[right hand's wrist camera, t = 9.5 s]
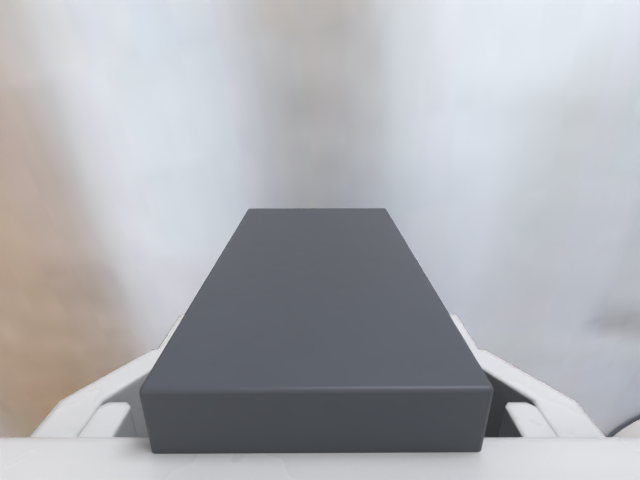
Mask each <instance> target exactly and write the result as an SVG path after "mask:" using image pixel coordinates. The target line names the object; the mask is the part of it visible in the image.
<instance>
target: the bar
mask: <svg viewBox="0 0 640 480" xmlns="http://www.w3.org/2000/svg"><path fill="white" fill-rule="evenodd" d="M139 395H140V400H141V404H142V409H143V413H144V418H145V422H146V427H147V431H148V436H149V440H150V445H151V449H152V453H154V454H234V453H434V452H480V451H481V449H482V444H483V440H484V435H485V430H486V425H487V421H488V416H489V411H490V407H491V402H492V397H493V386H492V385H491V383H490V381H489V380H488V378H487V376H486V375H485V373H484V371H483V370H482V368H481V366H480V365H479V363H478V361H477V360H476V358H475V356H474V355H473V353H472V351H471V350H470V348H469V346H468V345H467V343H466V341H465V340H464V338H463V336H462V335H461V333H460V331H459V330H458V328H457V326H456V325H455V323H454V322H453V320H452V318H451V317H450V315H449V313H448V312H447V310H446V308H445V307H444V305H443V303H442V302H441V300H440V298H439V297H438V295H437V293H436V292H435V290H434V288H433V287H432V285H431V283H430V282H429V280H428V278H427V277H426V275H425V273H424V272H423V270H422V268H421V267H420V265H419V263H418V262H417V260H416V259H415V257H414V255H413V254H412V252H411V250H410V249H409V247H408V245H407V244H406V242H405V240H404V239H403V237H402V235H401V234H400V232H399V230H398V229H397V227H396V225H395V224H394V222H393V220H392V219H391V217H390V215H389V214H388V212H387V210H386V209H248V211H247V213H246V214H245V216H244V218H243V219H242V221H241V223H240V224H239V226H238V228H237V229H236V231H235V232H234V234H233V236H232V237H231V239H230V241H229V242H228V244H227V246H226V247H225V249H224V251H223V252H222V254H221V256H220V257H219V259H218V261H217V262H216V264H215V265H214V267H213V269H212V270H211V272H210V274H209V275H208V277H207V279H206V280H205V282H204V284H203V285H202V287H201V289H200V290H199V292H198V294H197V295H196V297H195V298H194V300H193V302H192V303H191V305H190V307H189V308H188V310H187V312H186V313H185V315H184V317H183V318H182V320H181V322H180V323H179V325H178V326H177V328H176V330H175V331H174V333H173V335H172V336H171V338H170V340H169V341H168V343H167V345H166V346H165V348H164V350H163V351H162V353H161V355H160V356H159V358H158V359H157V361H156V363H155V364H154V366H153V368H152V369H151V371H150V373H149V374H148V376H147V378H146V379H145V381H144V383H143V384H142V386H141V388H140V391H139Z"/></svg>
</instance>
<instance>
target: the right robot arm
mask: <svg viewBox="0 0 640 480" xmlns="http://www.w3.org/2000/svg"><path fill="white" fill-rule="evenodd" d="M184 315H185V314H182V315H180V316H179V317H178V319H177V320H176V322H175V323H174V325H173V326H172V328H171V329H170V331H169V333H168V334H167V336H166V337H165V339H164V340H163V342H162V343H161V345H160V347H159V348H158V350H150V351H149V352H147V353H145V354H143V355H141V356H140V357H138V358H136V359H134V360H132V361H131V362H129V363H127V364H125V365H123V366H122V367H120V368H118V369H116V370H114V371H113V372H111V373H109V374H107V375H105V376H104V377H102V378H100V379H98V380H96V381H95V382H93V383H91V384H89V385H87V386H86V387H84V388H82V389H80V390H78V391H77V392H75V393H73V394H71V395H69V396H68V397H66V398H64V399H62V400H60V401H59V402H58V404H57V405H56V406H55V407H54V408H53V409H52V411H51V412H50V413H49V414H48V415H47V417H46V418H45V419H44V420H43V421H42V422H41V424H40V425H39V426H38V427H37V428H36V429H35V431H34V432H33V433H32V434H31V435H30V436H29V437H0V480H640V419H639V420H637V421H635V422H633V423H631V424H630V425H628V426H626V427H625V428H623V429H622V430H620V431H619V432H618V433H616V434H615V435H614V436H613V437H606V436H605V435H604V434H603V433H602V432H601V430H600V429H599V428H598V427H597V426H596V424H595V423H594V422H593V421H592V420H591V418H590V417H589V416H588V415H587V414H586V412H585V411H584V410H583V409H582V408H581V406H580V405H579V404H578V403H577V402H576V401H575V400H573V399H571V398H569V397H568V396H566V395H564V394H562V393H561V392H559V391H557V390H555V389H554V388H552V387H550V386H548V385H546V384H545V383H543V382H541V381H539V380H538V379H536V378H534V377H532V376H530V375H529V374H527V373H525V372H523V371H522V370H520V369H518V368H516V367H514V366H513V365H511V364H509V363H507V362H506V361H504V360H502V359H500V358H498V357H497V356H495V355H493V354H491V353H490V352H488V351H486V350H479V349H478V347H477V346H476V344H475V343H474V341H473V340H472V338H471V336H470V335H469V333H468V332H467V330H466V329H465V327H464V325H463V324H462V322H461V321H460V319H459V318H458V316H457V315H455V314H449V315H450V317H451V318H452V320H453V322H454V323H455V325H456V326H457V328H458V330H459V331H460V333H461V335H462V336H463V338H464V340H465V341H466V343H467V345H468V346H469V348H470V350H471V351H472V353H473V355H474V356H475V358H476V360H477V361H478V363H479V365H480V366H481V368H482V370H483V371H484V373H485V375H486V376H487V378H488V380H489V381H490V383H491V385H492V386H493V397H492V402H491V407H490V411H489V416H488V421H487V425H486V430H485V435H484V440H483V444H482V449H481V451H480V452H434V453H234V454H154V453H152V449H151V445H150V440H149V436H148V431H147V427H146V422H145V418H144V413H143V409H142V404H141V400H140V395H139V391H140V388H141V386H142V384H143V383H144V381H145V379H146V378H147V376H148V374H149V373H150V371H151V369H152V368H153V366H154V364H155V363H156V361H157V359H158V358H159V356H160V355H161V353H162V351H163V350H164V348H165V346H166V345H167V343H168V341H169V340H170V338H171V336H172V335H173V333H174V331H175V330H176V328H177V326H178V325H179V323H180V322H181V320H182V318H183V317H184Z"/></svg>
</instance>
